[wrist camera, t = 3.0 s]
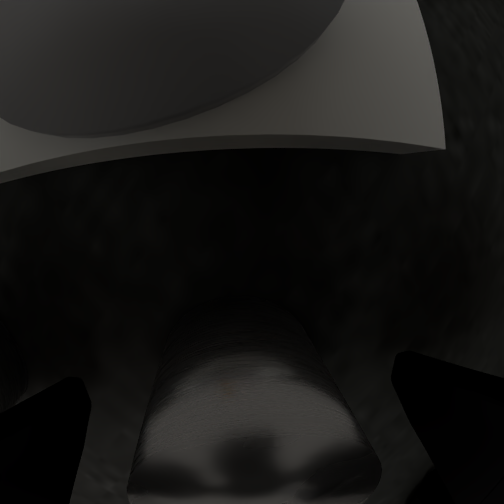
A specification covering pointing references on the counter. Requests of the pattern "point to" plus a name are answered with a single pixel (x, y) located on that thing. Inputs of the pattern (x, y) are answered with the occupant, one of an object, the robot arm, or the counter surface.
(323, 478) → the spacer
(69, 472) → the robot arm
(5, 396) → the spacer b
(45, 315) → the counter surface
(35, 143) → the scale
